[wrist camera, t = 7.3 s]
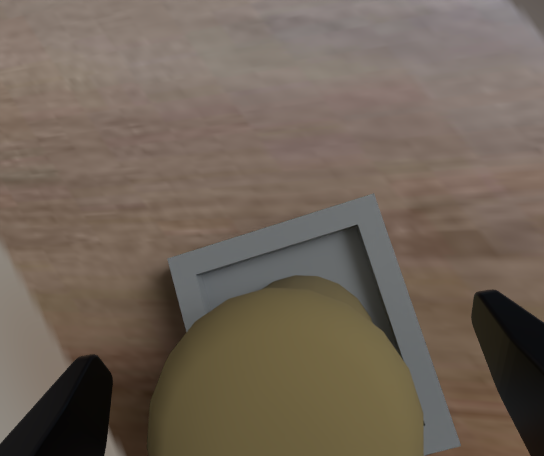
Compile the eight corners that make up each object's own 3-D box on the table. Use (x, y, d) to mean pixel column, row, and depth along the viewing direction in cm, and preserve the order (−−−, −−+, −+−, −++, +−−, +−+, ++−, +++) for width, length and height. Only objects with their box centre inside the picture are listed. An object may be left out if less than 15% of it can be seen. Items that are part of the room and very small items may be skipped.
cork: (268, 448, 17) (173, 744, 6) (210, 310, 18) (40, 354, 7) (405, 388, 17) (560, 585, 6) (338, 250, 18) (364, 201, 7)
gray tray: (445, 427, 17) (460, 446, 15) (241, 481, 18) (231, 506, 16) (368, 202, 19) (374, 193, 17) (182, 260, 20) (167, 258, 18)
